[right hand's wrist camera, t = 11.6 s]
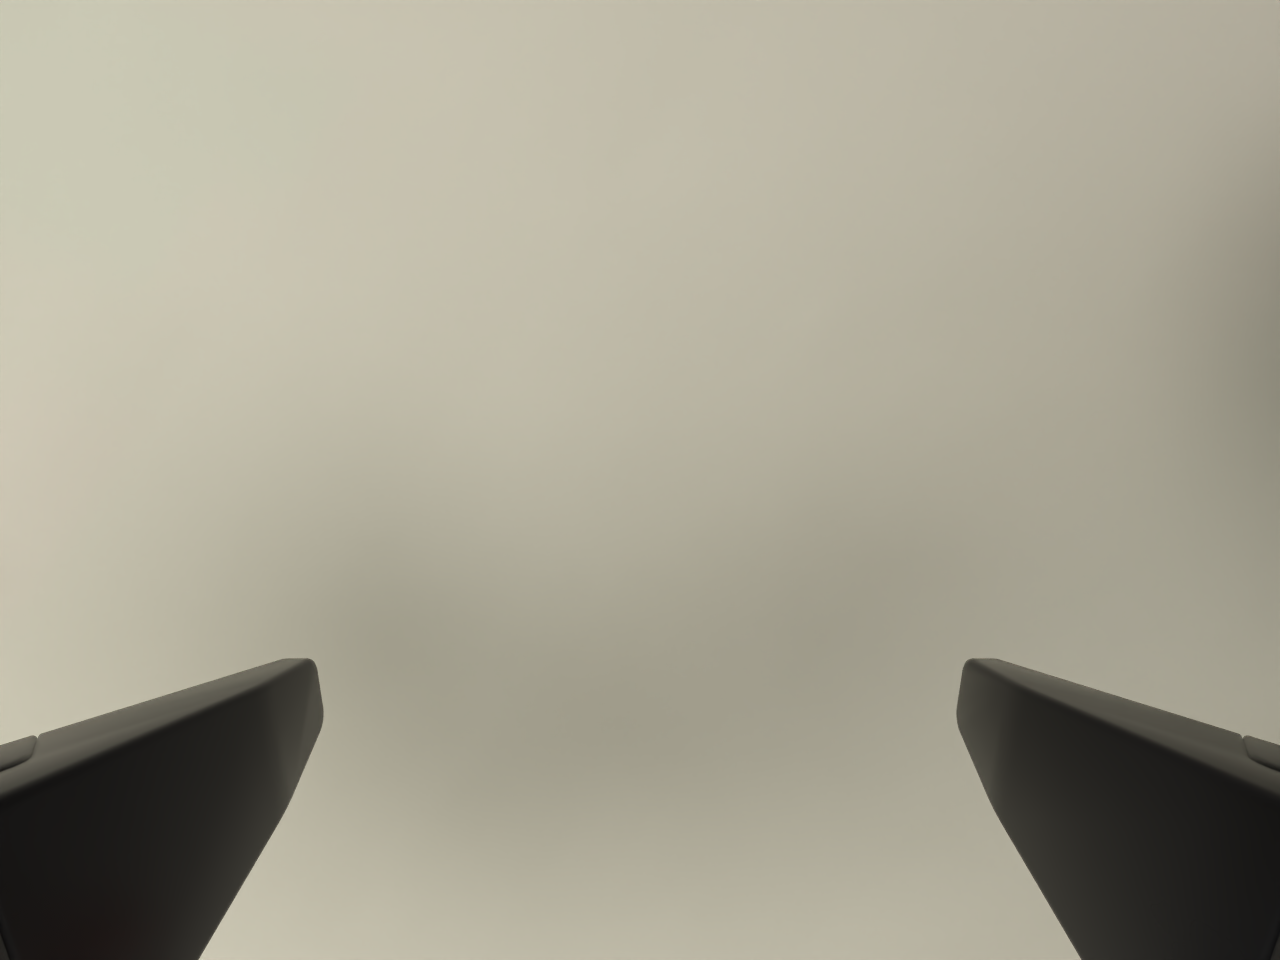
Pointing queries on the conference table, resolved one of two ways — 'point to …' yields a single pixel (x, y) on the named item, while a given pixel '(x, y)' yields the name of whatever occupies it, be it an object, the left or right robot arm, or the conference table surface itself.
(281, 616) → the conference table surface
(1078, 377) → the conference table surface
